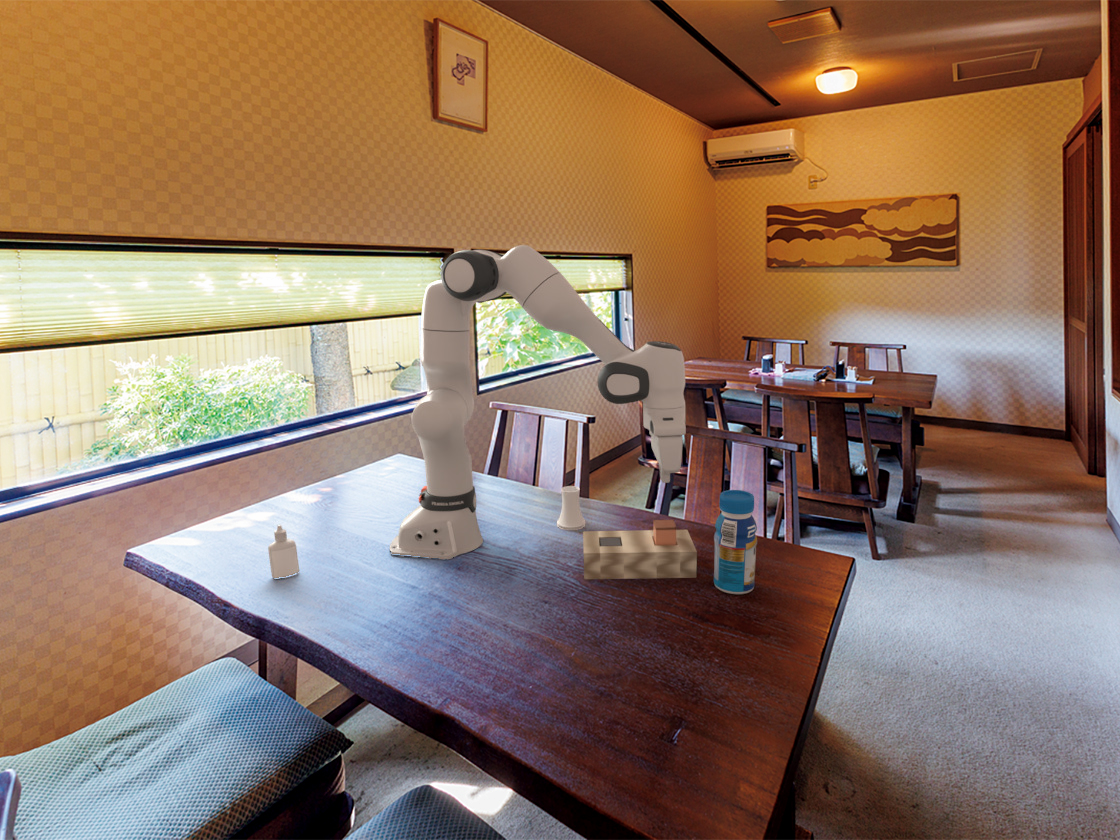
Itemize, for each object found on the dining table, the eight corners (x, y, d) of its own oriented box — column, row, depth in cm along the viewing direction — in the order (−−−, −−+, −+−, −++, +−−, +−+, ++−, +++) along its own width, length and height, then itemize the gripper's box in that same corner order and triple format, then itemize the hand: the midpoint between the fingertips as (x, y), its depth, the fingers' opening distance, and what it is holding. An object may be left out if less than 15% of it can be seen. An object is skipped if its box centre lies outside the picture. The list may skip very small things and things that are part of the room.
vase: (559, 519, 170) (557, 484, 168) (586, 520, 169) (586, 484, 167) (555, 530, 163) (554, 493, 161) (584, 531, 162) (583, 494, 160)
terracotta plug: (655, 551, 138) (655, 527, 137) (653, 543, 143) (653, 520, 141) (676, 550, 138) (676, 527, 137) (673, 542, 142) (673, 519, 141)
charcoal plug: (601, 569, 140) (600, 545, 138) (600, 560, 144) (600, 537, 143) (621, 568, 139) (621, 545, 138) (619, 560, 144) (619, 537, 142)
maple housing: (584, 579, 136) (583, 553, 135) (583, 555, 148) (583, 531, 146) (696, 577, 135) (696, 551, 134) (686, 553, 147) (687, 529, 146)
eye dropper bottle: (295, 579, 140) (289, 528, 138) (269, 580, 140) (262, 530, 137) (301, 570, 144) (295, 521, 142) (276, 572, 144) (269, 522, 141)
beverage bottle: (705, 579, 134) (708, 490, 130) (742, 574, 136) (745, 486, 132) (724, 598, 126) (727, 503, 122) (763, 592, 128) (767, 499, 124)
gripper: (644, 409, 144) (645, 467, 147) (655, 430, 124) (656, 496, 127) (672, 408, 144) (672, 466, 147) (687, 428, 124) (687, 495, 127)
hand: (664, 480), depth 137 cm, fingers closed
